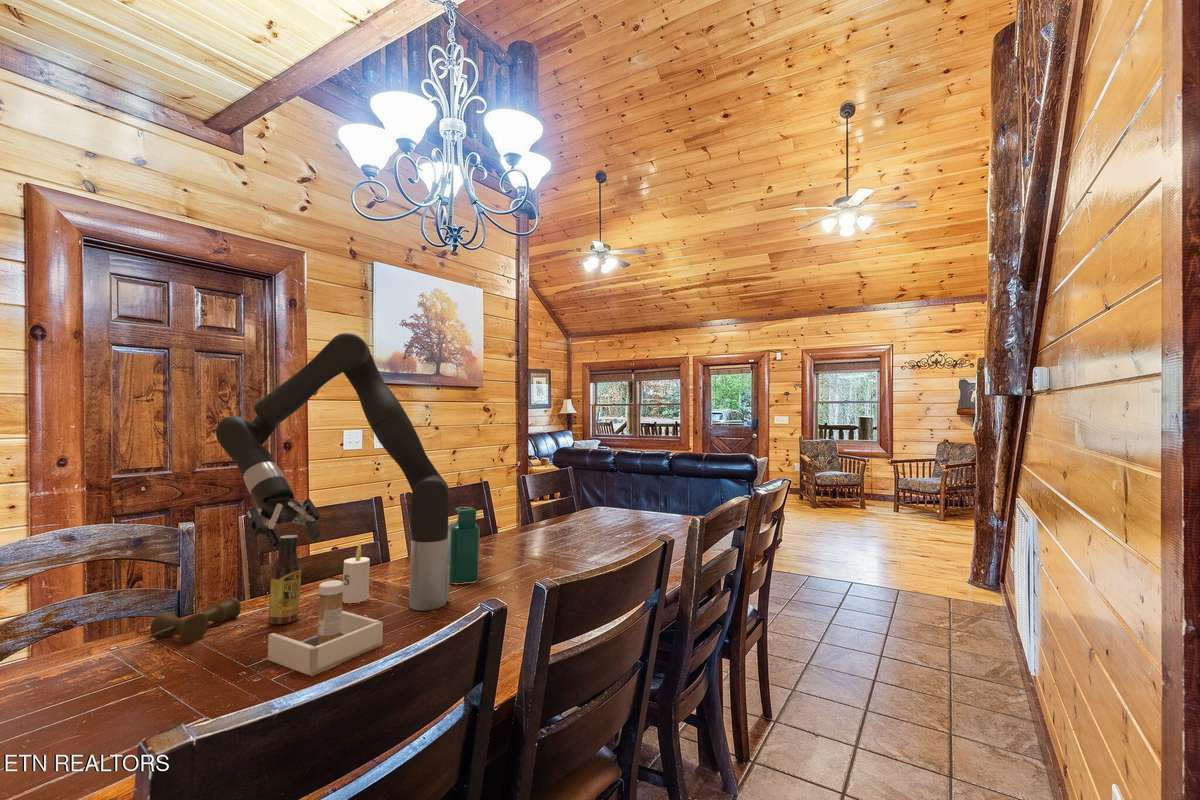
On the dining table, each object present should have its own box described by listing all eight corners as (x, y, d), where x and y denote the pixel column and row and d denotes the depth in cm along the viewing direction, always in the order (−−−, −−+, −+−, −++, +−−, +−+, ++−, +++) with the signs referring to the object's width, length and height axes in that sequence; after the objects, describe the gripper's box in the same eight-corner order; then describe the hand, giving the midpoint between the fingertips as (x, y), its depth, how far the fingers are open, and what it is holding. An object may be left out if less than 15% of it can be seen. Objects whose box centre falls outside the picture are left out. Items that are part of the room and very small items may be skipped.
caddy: (338, 632, 122) (339, 609, 122) (382, 645, 116) (382, 621, 116) (267, 659, 108) (268, 634, 108) (312, 676, 101) (313, 649, 102)
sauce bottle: (284, 627, 124) (288, 540, 125) (261, 624, 126) (265, 538, 126) (305, 617, 131) (308, 534, 131) (283, 614, 132) (286, 533, 133)
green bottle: (445, 578, 164) (447, 505, 164) (473, 575, 167) (475, 504, 168) (451, 587, 155) (453, 510, 156) (480, 584, 158) (482, 509, 159)
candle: (336, 602, 141) (338, 544, 142) (356, 594, 147) (357, 539, 148) (354, 605, 139) (356, 547, 139) (373, 598, 145) (375, 541, 146)
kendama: (250, 621, 129) (167, 654, 110) (217, 618, 131) (129, 650, 112) (251, 595, 130) (168, 624, 110) (218, 593, 132) (131, 620, 112)
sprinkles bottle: (316, 645, 113) (319, 581, 113) (340, 642, 115) (343, 578, 115) (316, 654, 109) (318, 587, 109) (341, 650, 111) (343, 584, 111)
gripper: (242, 478, 116) (273, 537, 111) (305, 472, 129) (335, 525, 123) (228, 501, 119) (257, 560, 113) (290, 492, 131) (320, 545, 126)
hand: (298, 541), depth 118 cm, fingers open, 8 cm apart
